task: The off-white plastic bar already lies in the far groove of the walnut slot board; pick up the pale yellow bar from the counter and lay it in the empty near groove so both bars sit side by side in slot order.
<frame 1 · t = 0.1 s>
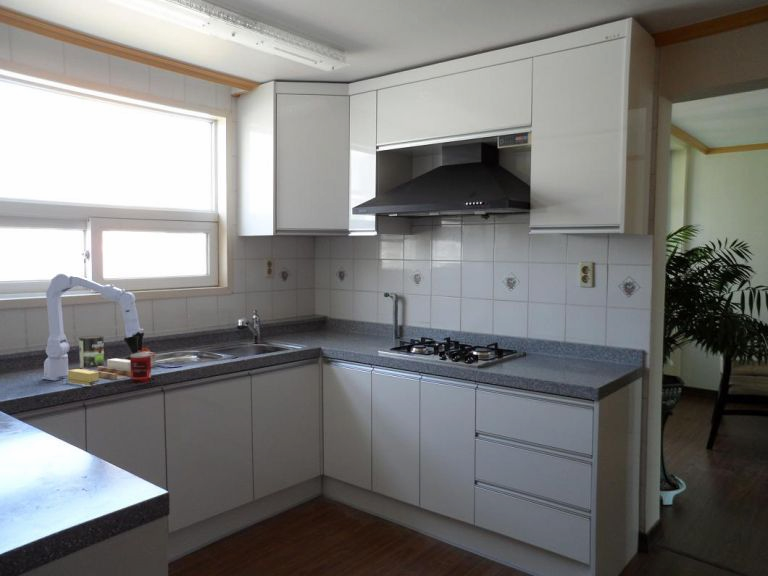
hand: (137, 351, 254), 11 cm above the counter, tool pointing down, fingers open, 7 cm apart
canned food: (141, 381, 245), on the counter
pale yellow bar: (83, 383, 241), on the counter
slot board: (114, 376, 253), on the counter
food item: (143, 369, 271), on the counter
white bar: (122, 372, 256), point 1 cm above the counter, touching slot board
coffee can: (92, 367, 276), on the counter
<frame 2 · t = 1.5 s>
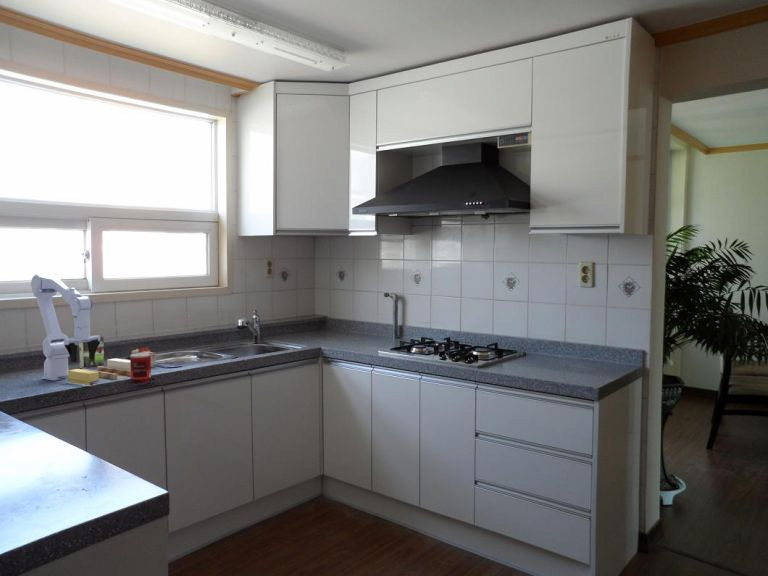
hand: (82, 360, 241), 9 cm above the counter, tool pointing down, fingers open, 7 cm apart
nothing on the counter moved.
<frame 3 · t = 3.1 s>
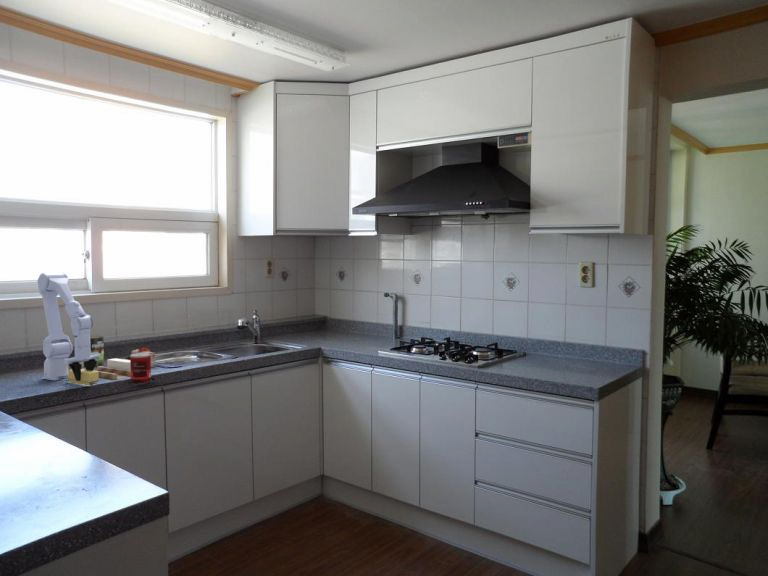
hand: (83, 379, 241), 1 cm above the counter, tool pointing down, fingers closed on pale yellow bar, 4 cm apart
pale yellow bar: (83, 383, 241), on the counter, touching gripper
everything else where it was.
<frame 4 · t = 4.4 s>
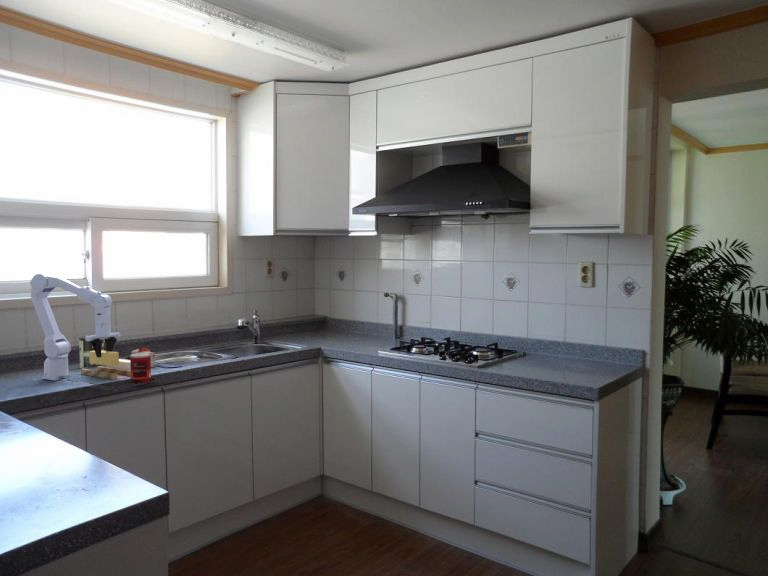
hand: (103, 356, 249), 9 cm above the counter, tool pointing down, fingers closed on pale yellow bar, 4 cm apart
pale yellow bar: (104, 363, 249), point 6 cm above the counter, touching gripper
everything else where it was.
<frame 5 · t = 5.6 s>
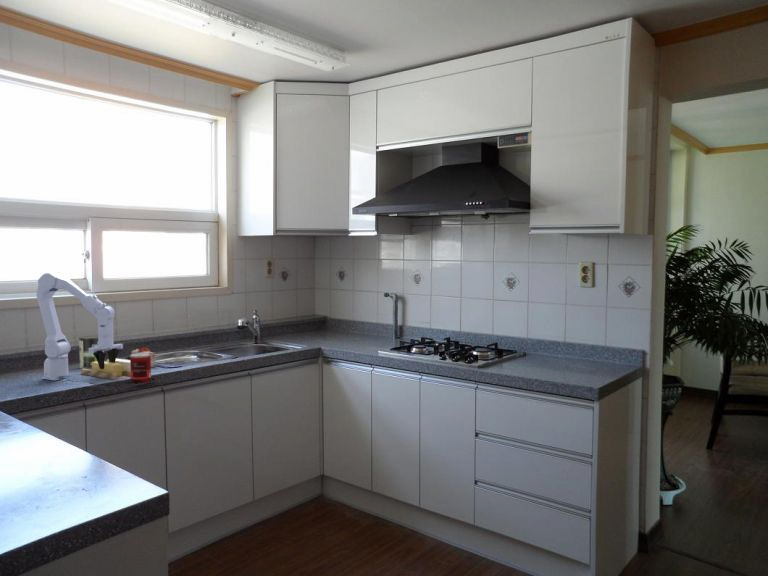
hand: (106, 367, 250), 4 cm above the counter, tool pointing down, fingers closed on pale yellow bar, 4 cm apart
pale yellow bar: (106, 374, 250), point 1 cm above the counter, touching gripper, slot board
everything else where it was.
when the fingers open (4 cm above the counter, at t = 5.9 s): pale yellow bar stays where it is, resting on slot board.
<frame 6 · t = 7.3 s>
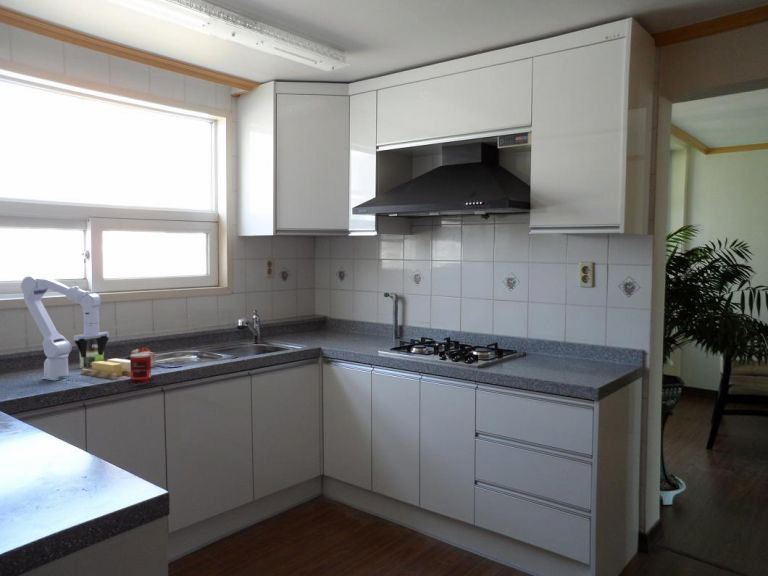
hand: (92, 355, 247), 10 cm above the counter, tool pointing down, fingers open, 7 cm apart
pale yellow bar: (106, 374, 250), point 1 cm above the counter, touching slot board
everything else where it was.
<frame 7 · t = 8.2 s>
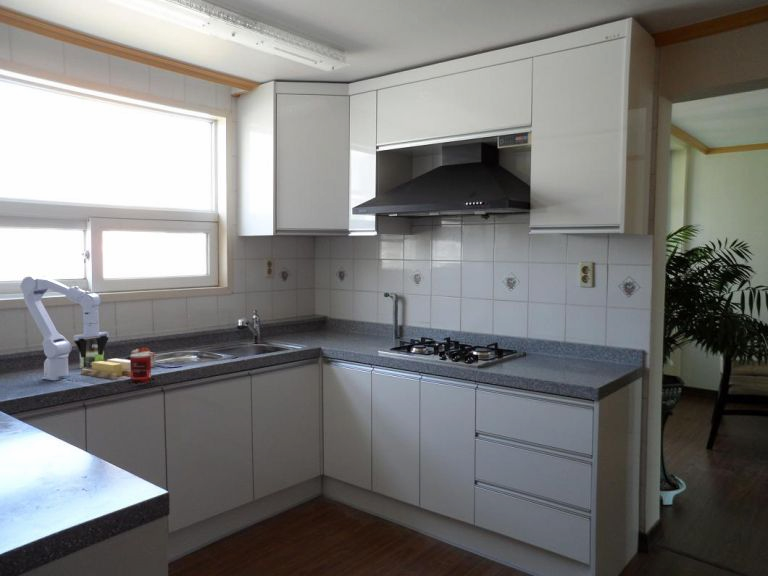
hand: (92, 355, 247), 10 cm above the counter, tool pointing down, fingers open, 7 cm apart
nothing on the counter moved.
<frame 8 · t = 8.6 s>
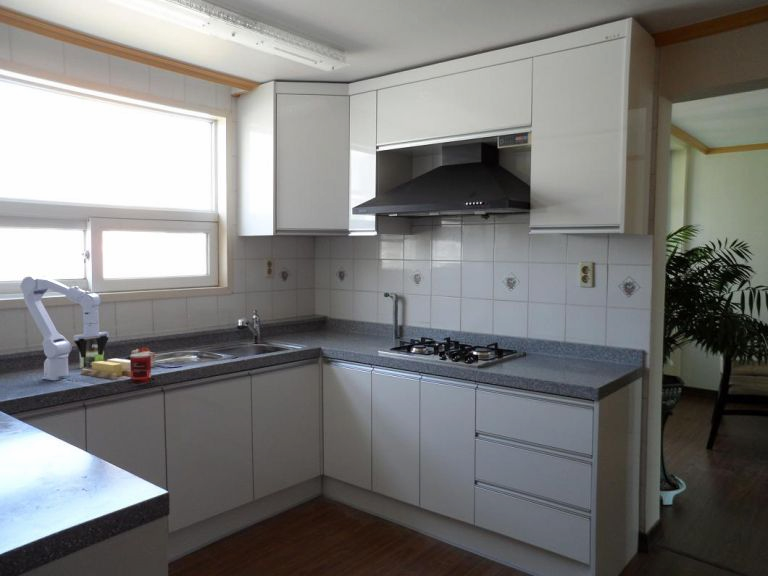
hand: (92, 355, 247), 10 cm above the counter, tool pointing down, fingers open, 7 cm apart
nothing on the counter moved.
at the end: pale yellow bar inside the target area on the slot board (0.1 cm from its centre), point 1.5 cm above the slot board's base; white bar inside the target area on the slot board (0.0 cm from its centre), point 1.5 cm above the slot board's base; the gripper is holding nothing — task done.
